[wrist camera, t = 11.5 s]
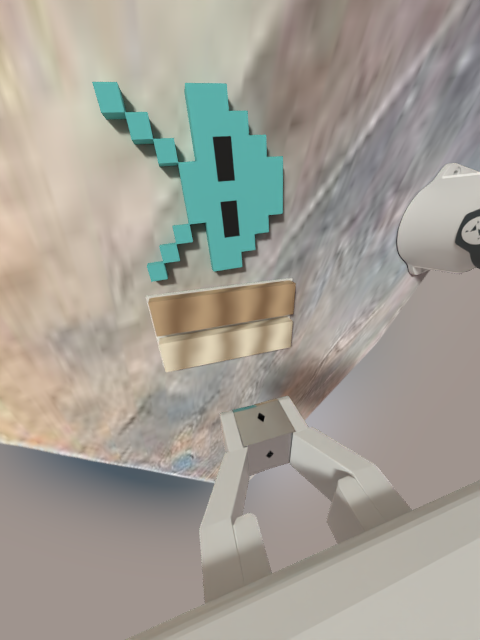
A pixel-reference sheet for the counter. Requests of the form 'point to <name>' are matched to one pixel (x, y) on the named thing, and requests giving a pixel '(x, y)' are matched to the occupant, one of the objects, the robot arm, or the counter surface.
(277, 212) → the alien figure
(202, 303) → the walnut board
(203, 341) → the birch plank
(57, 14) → the counter surface
